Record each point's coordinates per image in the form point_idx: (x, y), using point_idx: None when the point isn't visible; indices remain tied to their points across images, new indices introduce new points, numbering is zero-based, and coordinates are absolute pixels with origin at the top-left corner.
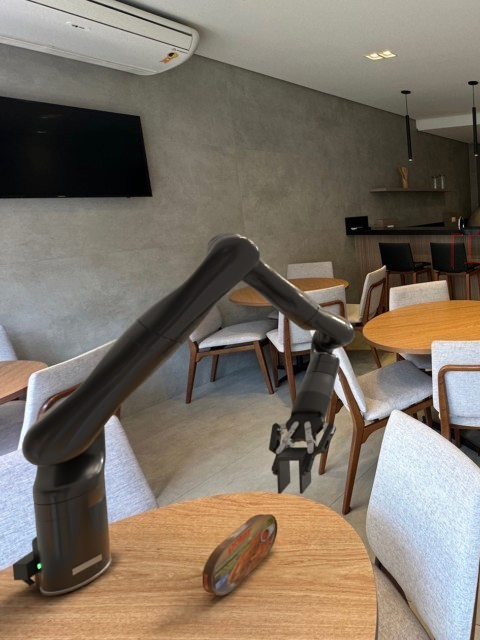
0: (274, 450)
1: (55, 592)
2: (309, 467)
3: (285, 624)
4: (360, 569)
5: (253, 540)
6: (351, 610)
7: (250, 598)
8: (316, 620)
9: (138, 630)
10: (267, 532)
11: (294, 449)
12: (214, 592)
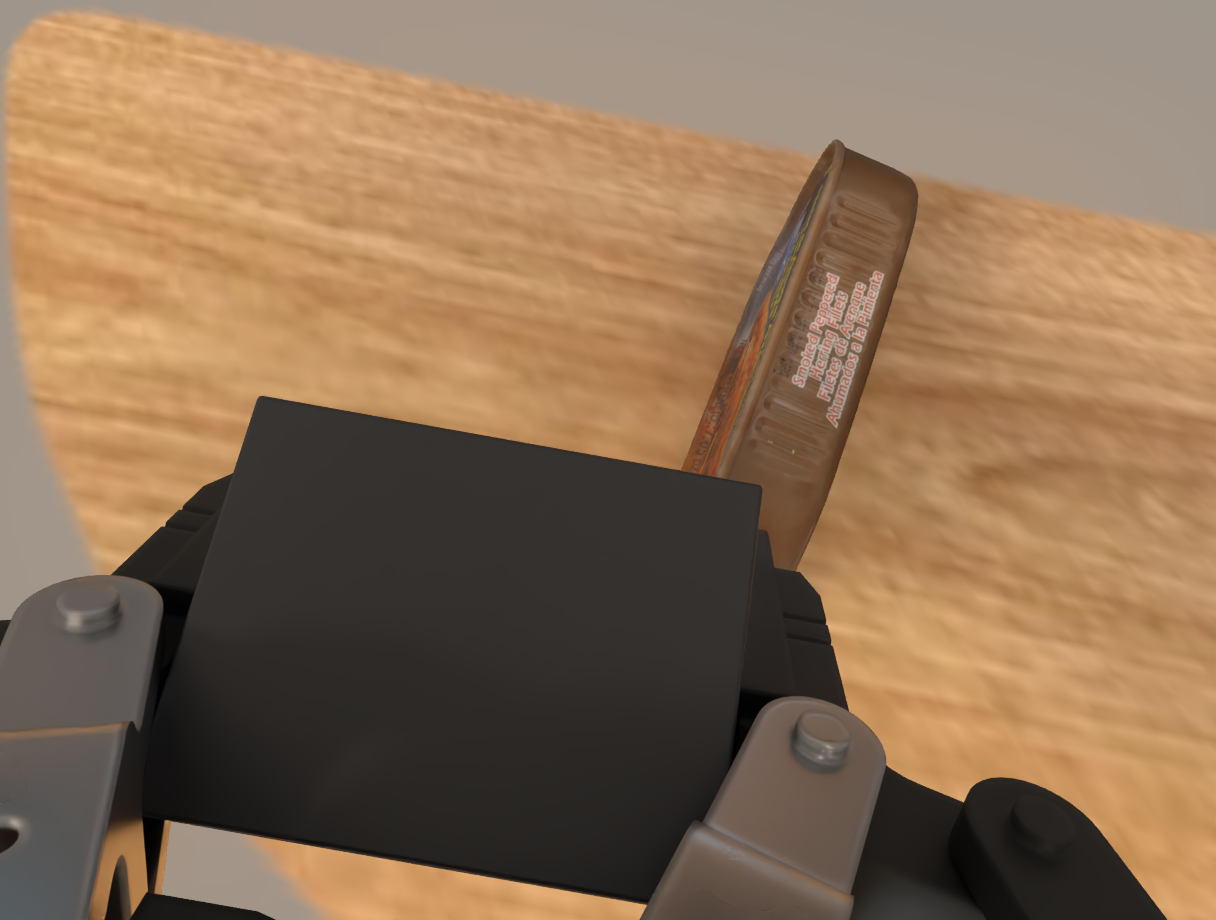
0: (943, 818)
1: None
2: (198, 501)
3: (395, 99)
4: (43, 324)
5: (731, 428)
6: (92, 99)
7: (619, 264)
8: (256, 88)
9: (1048, 206)
10: None
11: (482, 755)
12: (793, 207)
